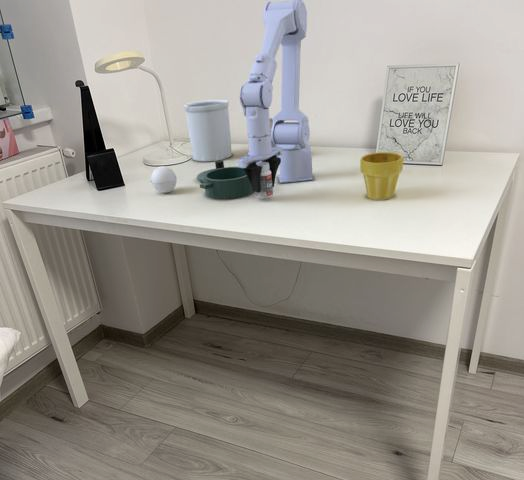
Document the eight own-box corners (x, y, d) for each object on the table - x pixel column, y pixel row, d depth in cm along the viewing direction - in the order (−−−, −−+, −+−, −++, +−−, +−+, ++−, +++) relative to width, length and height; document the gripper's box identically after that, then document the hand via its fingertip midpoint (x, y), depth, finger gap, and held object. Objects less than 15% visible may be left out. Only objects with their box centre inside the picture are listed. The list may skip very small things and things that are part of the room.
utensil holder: (197, 152, 197) (189, 100, 187) (237, 150, 194) (231, 97, 185) (186, 163, 184) (178, 108, 175) (229, 161, 182) (223, 105, 173)
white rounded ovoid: (163, 187, 162) (159, 162, 158) (183, 189, 158) (179, 163, 154) (142, 197, 155) (136, 171, 151) (162, 200, 151) (157, 173, 147)
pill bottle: (271, 198, 141) (268, 165, 137) (253, 198, 142) (250, 166, 138) (274, 192, 145) (272, 161, 141) (257, 193, 146) (254, 161, 142)
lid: (187, 180, 166) (184, 164, 164) (222, 168, 175) (220, 153, 172) (219, 187, 157) (217, 170, 154) (255, 174, 166) (253, 158, 163)
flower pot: (376, 205, 133) (377, 164, 128) (351, 195, 141) (352, 157, 136) (409, 196, 136) (412, 156, 131) (383, 187, 144) (385, 149, 139)
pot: (188, 197, 151) (185, 178, 148) (238, 179, 162) (236, 162, 159) (221, 205, 143) (219, 186, 140) (271, 186, 154) (269, 167, 151)
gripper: (267, 127, 142) (271, 179, 149) (227, 139, 134) (233, 194, 141) (287, 129, 138) (290, 183, 145) (247, 142, 129) (252, 198, 137)
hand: (263, 189), depth 143 cm, fingers closed on pill bottle, 5 cm apart
